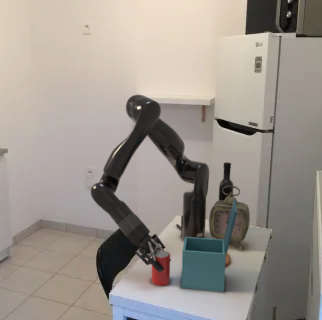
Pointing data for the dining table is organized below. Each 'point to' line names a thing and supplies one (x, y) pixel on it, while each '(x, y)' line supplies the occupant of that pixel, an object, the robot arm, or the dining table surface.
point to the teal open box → (203, 264)
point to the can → (164, 260)
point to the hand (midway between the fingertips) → (165, 266)
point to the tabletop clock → (221, 217)
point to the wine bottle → (225, 182)
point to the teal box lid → (230, 226)
